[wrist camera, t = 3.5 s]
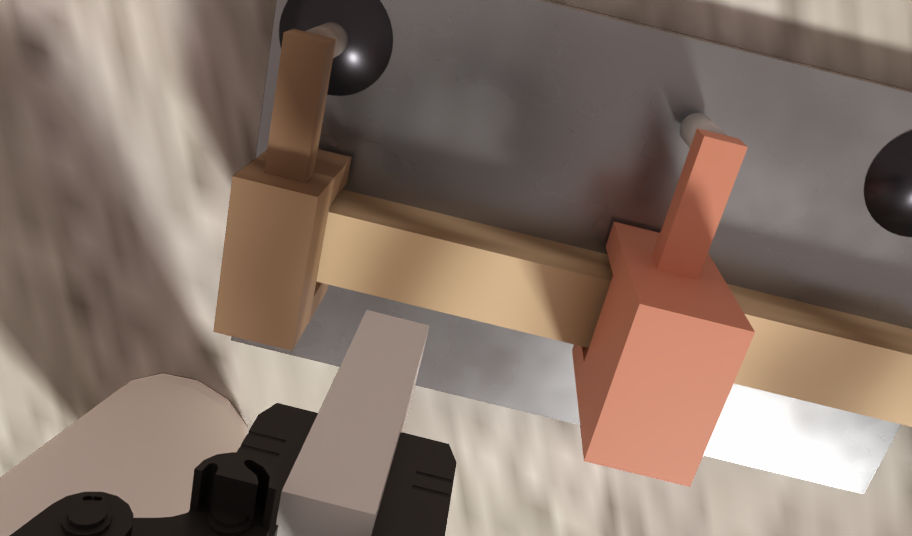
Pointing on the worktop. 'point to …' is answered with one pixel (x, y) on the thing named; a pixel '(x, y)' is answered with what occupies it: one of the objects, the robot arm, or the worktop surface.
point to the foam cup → (128, 451)
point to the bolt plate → (616, 186)
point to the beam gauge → (483, 265)
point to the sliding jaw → (666, 327)
